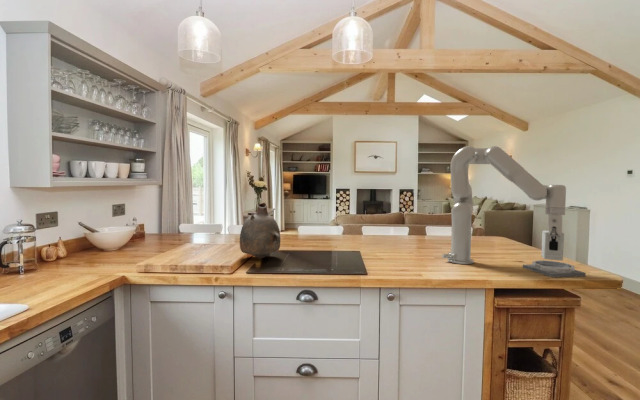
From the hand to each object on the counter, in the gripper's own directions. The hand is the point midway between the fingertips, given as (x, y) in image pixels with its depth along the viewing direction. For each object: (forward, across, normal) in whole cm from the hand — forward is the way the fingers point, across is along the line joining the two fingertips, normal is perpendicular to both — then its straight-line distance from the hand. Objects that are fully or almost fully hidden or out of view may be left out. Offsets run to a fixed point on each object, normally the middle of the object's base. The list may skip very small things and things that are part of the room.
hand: (553, 248), depth 156 cm
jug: (+11, -66, +127) cm, 143 cm away
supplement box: (+5, 0, +1) cm, 5 cm away
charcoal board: (+11, 0, 0) cm, 11 cm away
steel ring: (+9, 0, 0) cm, 9 cm away
